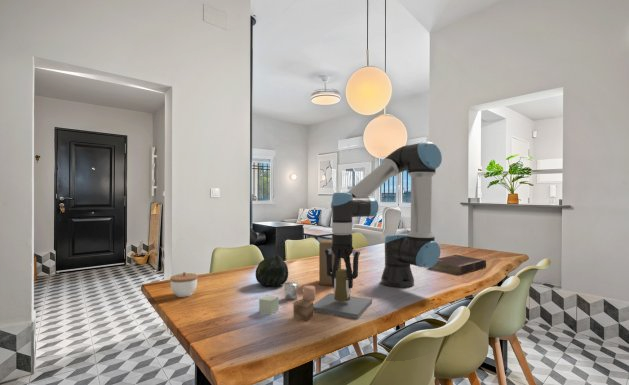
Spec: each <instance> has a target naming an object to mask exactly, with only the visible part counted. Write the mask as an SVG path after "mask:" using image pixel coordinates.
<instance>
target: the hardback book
mask: <svg viewBox="0 0 629 385" xmlns="http://www.w3.org/2000/svg"><path fill="white" fill-rule="evenodd" d="M485 268H487V260H486V259H481V258H475V257H470V256H465V255H458V254H452V255H448V256H443V257H439V260H438V261H437V262H436V264H435V265H434V266H432V267H430V268H427V269H429V270H434V271H439V272H442V273H443V272H444V273H448V274H452V275H458V276H460V275H464V274H468V273H471V272H475V271H478V270H481V269H485Z"/></svg>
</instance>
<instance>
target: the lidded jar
mask: <svg viewBox="0 0 629 385" xmlns="http://www.w3.org/2000/svg"><path fill="white" fill-rule="evenodd" d="M198 278H199V276H198V274H197V273H192V272H191V273H190V272H189V273H187V272H185V271H183V272H182V273H180V274H179V273H178V274H175V275H172V276H170V288H171V291H172V293H173V294H174V295H176V297H178V298H185V297H189V296H192V295H193V293H194V292H195V291H196V289H197V287H198Z"/></svg>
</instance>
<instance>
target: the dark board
mask: <svg viewBox="0 0 629 385" xmlns="http://www.w3.org/2000/svg"><path fill="white" fill-rule="evenodd" d="M334 297H335V296H334V292H333V293H331V292H329V293H327V294H326V295H324V296H323V297H322V298H320V299H319V300H317V301H315V302H313V313H314V312H315V313H319V314H320V313H321V314H325V315H326V314H327V315H332V316H339V317H343V318H344V317H345V318H350V319H356V320H358V319H359V318H360V317H361V316H362V315H363V314H364V312H366V311H367V309H368V308H369V307H370V306H371V305H372V304H373V299H372V298H366V297H359V296H352V295H350V300H349V301H336V300H335V299H334Z"/></svg>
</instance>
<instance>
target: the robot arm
mask: <svg viewBox="0 0 629 385" xmlns="http://www.w3.org/2000/svg"><path fill="white" fill-rule="evenodd" d="M442 157H443V156H442V152H441V150H440V148H439V147H438V145H437V144H435V143H434V142H431V141H427V142H423V141H422V142H419V143H418V142H417V143H414V144H407V145H402V146H400V147H399V148H396V149H395V150H393V151H392V152H391V153H389V154H388V155H387V156H385V157H384V158H383V159H382V161H381V163H380V164H379V165H378V166H376V168H375V169H373V170H372V171H371V172H370V173H369V174H367V175H366V176H365V177H364V178H363V179H361V180H360V181H359V182H358V183H357V184H355V185H354V186H352V188H350V189H348V191H347V192H333V194H332V198H331V204H330V208H331V214H332V215H331V219H332V222H331V223H332V224H331V225H332V226H331V228H332V230H331V231H332V235H331V237H332V238H331V240H332V247H331V249H327V250H325V253H326V257H327V275H328V276H331V277H332V285H331V286H332V287H334V288H333V294H334V296H335V290H336V281H337V278H336V276H335V273H336V270H338V267H339V262H340V259H341V260H342V259H343V261H344V264H345V269H346V271H347V276H348V279H347V280H346V291H347V298H348V297H349V295H350V296H351V289H353V287H354V286H353V285H354V280H355V279H356V278H358V276H359V257H360V255H361V251H359V250H358V251H357V250H355V249H354V247H353V234H352V233H353V218H362V217H363V218H364V217H365V218H369V217H374V216H376V215H378V211H379V202H378V200H377V199H376V198H374V197H370V196H371V195H372V194H374V193H375V192H376V191H377V190H378V189H379V188H381V186H383V185H384V184H385V183H386V182H387V181H389V180H390V179H391V178H392V177H396V176H398V175H399V174H400V173H403V172H406V171H407V174H408V176H409V177H410V188H411V189H410V231H409V232H408V233H404V234H399V233H398V234H389V235H386V236H385V238H384V268H383V271H382V274H381V277H380V279H381V280H380V283H381V284H382V285H384V286H388V287H393V288H409V287H412V286H414V285H415V279H414V278H415V277H414V275H413V272H412V269H411V265H413V266H416V267H418V268H426V269H428V268H430V267H432V266H434V265H435V264H436V262H437V261H438V260H439V258H441V246H440V245H439V243H438V242H436V241H435V234H433V233H432V190H433V189H432V187H433V185H432V184H433V183H432V182H433V180H432V179H433V177H434V176H435V174H436V171H437V170H436V169H438V168H439V167H440V166H441V165H442V162H443V161H442V160H443V158H442ZM332 251H333V253H334V255H335V258H334V266H333V271H332ZM351 254H352V256H353V258H352V259H353V260H352V264H351Z"/></svg>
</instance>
